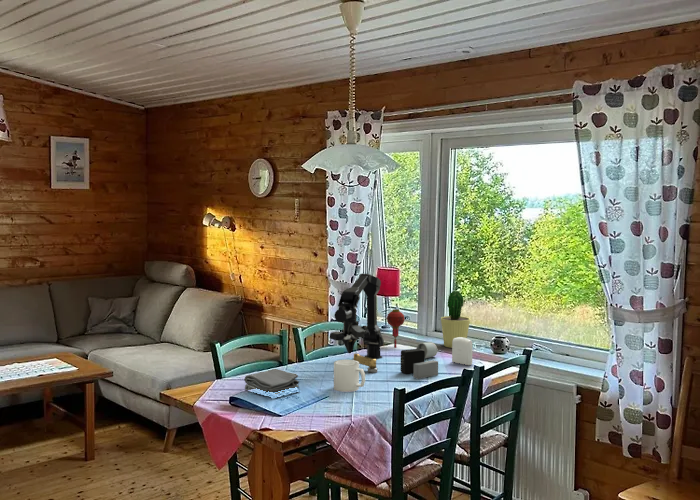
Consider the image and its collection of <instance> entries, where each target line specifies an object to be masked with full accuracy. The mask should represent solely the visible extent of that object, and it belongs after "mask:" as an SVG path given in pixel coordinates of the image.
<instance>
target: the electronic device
mask: <svg viewBox="0 0 700 500" xmlns="http://www.w3.org/2000/svg"><path fill="white" fill-rule="evenodd" d="M425 359H426V358H425V351H424V350H422V349H416V348H411V349H402V350H401V351H400V370H399V371H400V372H401V373H402V374H405V375H413V373H414V364H416V363H421V362H426V361H425Z"/></svg>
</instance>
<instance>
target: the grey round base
mask: <svg viewBox="0 0 700 500" xmlns="http://www.w3.org/2000/svg"><path fill="white" fill-rule="evenodd" d="M367 373H369V374H374V373H375V374H376V373H378V367H376V368H369V367H367Z"/></svg>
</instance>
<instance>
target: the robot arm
mask: <svg viewBox="0 0 700 500" xmlns="http://www.w3.org/2000/svg"><path fill="white" fill-rule="evenodd" d="M381 286H382V281H381V280H380V278H379V277H378V276H374V275H372V274H370V273H359V275H358V278H357V279H356V281H355V282H353V284H352V286H350V287H347V288H346V289H344V290H343V292H342V293H341V294H340V298H339V301H338V304H337V307H338V309H337V310H336V311H335V312H334V319H335V320H336V321H337V322H339V323H341V324H343V327H342V328H343V329H341V332H340V331H333V332H330V333H329V339H330V340H332V341H341V342H342V343H343V344H344V347H345V349H346V351H347V353H348V354H351V353H352V351H353V349H354V346H355V343H356V342H357V341H359V339H360V338H362V339H363V340H362V341H363V345H364V346H365V345H366V355H364V357H368V358H374V359H376V360H377V359H380V358H383V356H382V355H381V347H383V346H384V344H385V341H384V338H383V335H382V334H381V333H382V332H381V328H380V327H379V325H378V311H377V308H378V303H377V294H379V291H380V289H381ZM362 291H363V292H364V294H365V296H366V325H362V326H361V325H359V321H357V308H358V304H359V302H360V299H361V297H360V294H361V293H362Z"/></svg>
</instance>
